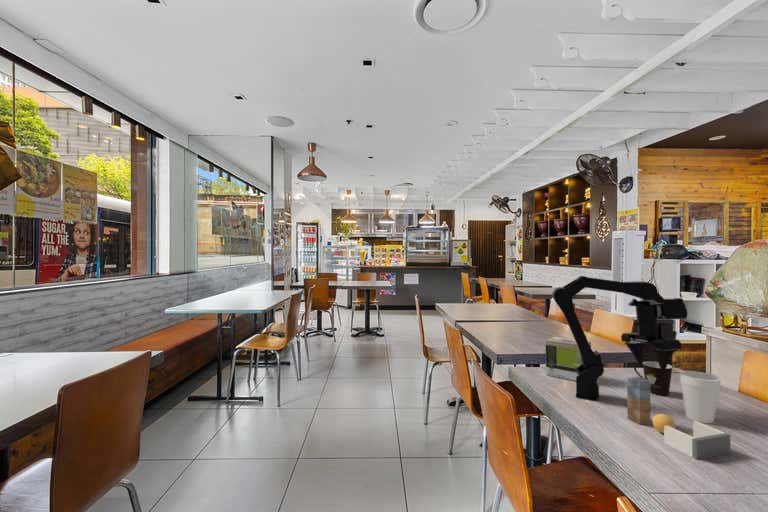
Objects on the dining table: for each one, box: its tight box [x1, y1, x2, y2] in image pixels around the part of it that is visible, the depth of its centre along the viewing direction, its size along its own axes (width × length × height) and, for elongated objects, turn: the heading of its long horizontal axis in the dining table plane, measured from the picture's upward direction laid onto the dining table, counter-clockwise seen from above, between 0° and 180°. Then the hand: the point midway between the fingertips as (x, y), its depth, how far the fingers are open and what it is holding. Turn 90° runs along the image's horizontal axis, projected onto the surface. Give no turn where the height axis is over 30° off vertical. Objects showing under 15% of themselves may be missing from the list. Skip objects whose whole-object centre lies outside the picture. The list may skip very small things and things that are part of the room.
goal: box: [663, 420, 731, 460], centre depth 94 cm, size 8×11×4 cm
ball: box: [652, 413, 676, 434], centre depth 102 cm, size 5×5×5 cm
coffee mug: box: [633, 361, 673, 397], centre depth 133 cm, size 12×9×10 cm
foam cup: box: [678, 370, 721, 424], centre depth 111 cm, size 10×9×13 cm
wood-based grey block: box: [626, 375, 652, 426], centre depth 109 cm, size 4×4×12 cm
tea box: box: [544, 336, 592, 382], centre depth 151 cm, size 15×10×15 cm, turn 46°
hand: (651, 367), depth 121 cm, fingers open, 9 cm apart
